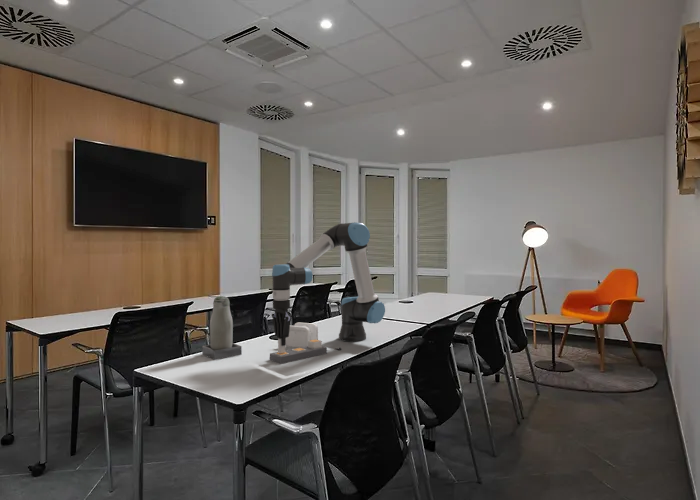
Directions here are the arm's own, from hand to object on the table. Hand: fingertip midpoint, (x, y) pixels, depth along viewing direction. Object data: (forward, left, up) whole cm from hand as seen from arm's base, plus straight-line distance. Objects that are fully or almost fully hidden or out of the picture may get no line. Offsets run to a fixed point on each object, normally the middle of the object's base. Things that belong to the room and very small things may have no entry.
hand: (281, 352), depth 189 cm
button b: (-9, 0, -3) cm, 10 cm away
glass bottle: (+13, -33, -5) cm, 36 cm away
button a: (-18, 0, -1) cm, 18 cm away
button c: (0, 0, -4) cm, 4 cm away
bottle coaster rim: (+13, -33, -5) cm, 36 cm away
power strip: (-15, 0, -5) cm, 16 cm away
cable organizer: (-23, -18, -5) cm, 30 cm away
